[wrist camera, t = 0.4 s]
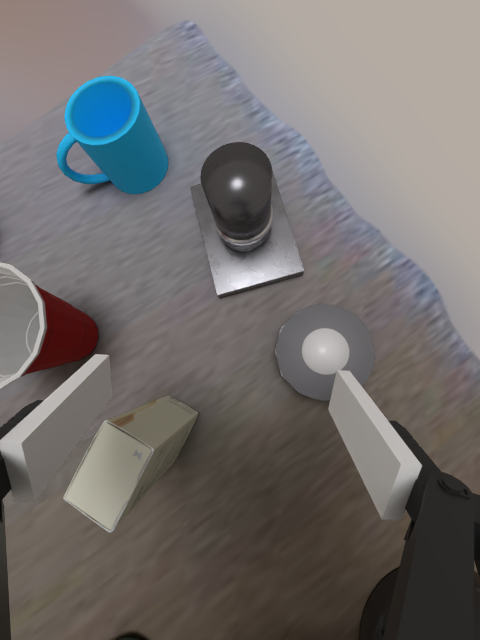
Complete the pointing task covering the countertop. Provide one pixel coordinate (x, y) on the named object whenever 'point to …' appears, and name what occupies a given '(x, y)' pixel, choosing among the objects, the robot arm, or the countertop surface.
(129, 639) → the coffee jar
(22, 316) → the plastic cup
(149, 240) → the countertop surface
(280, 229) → the gray flat-based fixture
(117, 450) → the skincare box
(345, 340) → the cap
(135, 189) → the mug
